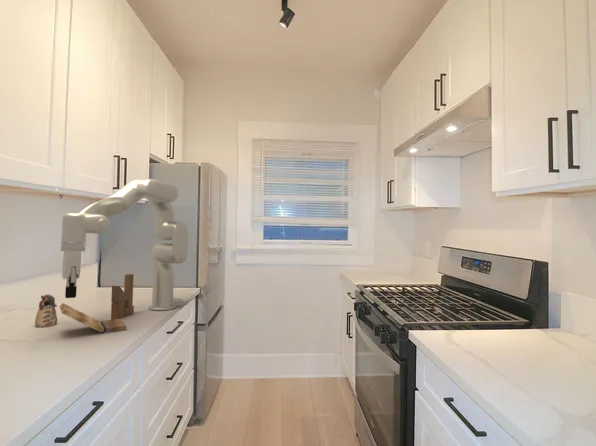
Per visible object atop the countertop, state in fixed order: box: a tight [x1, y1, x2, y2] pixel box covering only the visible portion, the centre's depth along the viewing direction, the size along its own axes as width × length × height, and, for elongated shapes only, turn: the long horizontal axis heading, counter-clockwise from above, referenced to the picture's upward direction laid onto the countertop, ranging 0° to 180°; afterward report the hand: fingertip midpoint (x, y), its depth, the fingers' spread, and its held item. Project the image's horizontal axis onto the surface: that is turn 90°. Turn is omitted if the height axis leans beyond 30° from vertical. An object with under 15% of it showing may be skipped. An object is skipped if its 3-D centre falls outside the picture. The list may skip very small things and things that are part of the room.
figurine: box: [34, 293, 58, 328], centre depth 136 cm, size 7×7×12 cm
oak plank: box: [59, 302, 104, 333], centre depth 129 cm, size 15×12×2 cm
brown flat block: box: [99, 318, 127, 334], centre depth 135 cm, size 7×12×2 cm, turn 38°
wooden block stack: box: [110, 273, 135, 320], centre depth 152 cm, size 4×11×18 cm, turn 172°
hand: (70, 297), depth 126 cm, fingers closed
